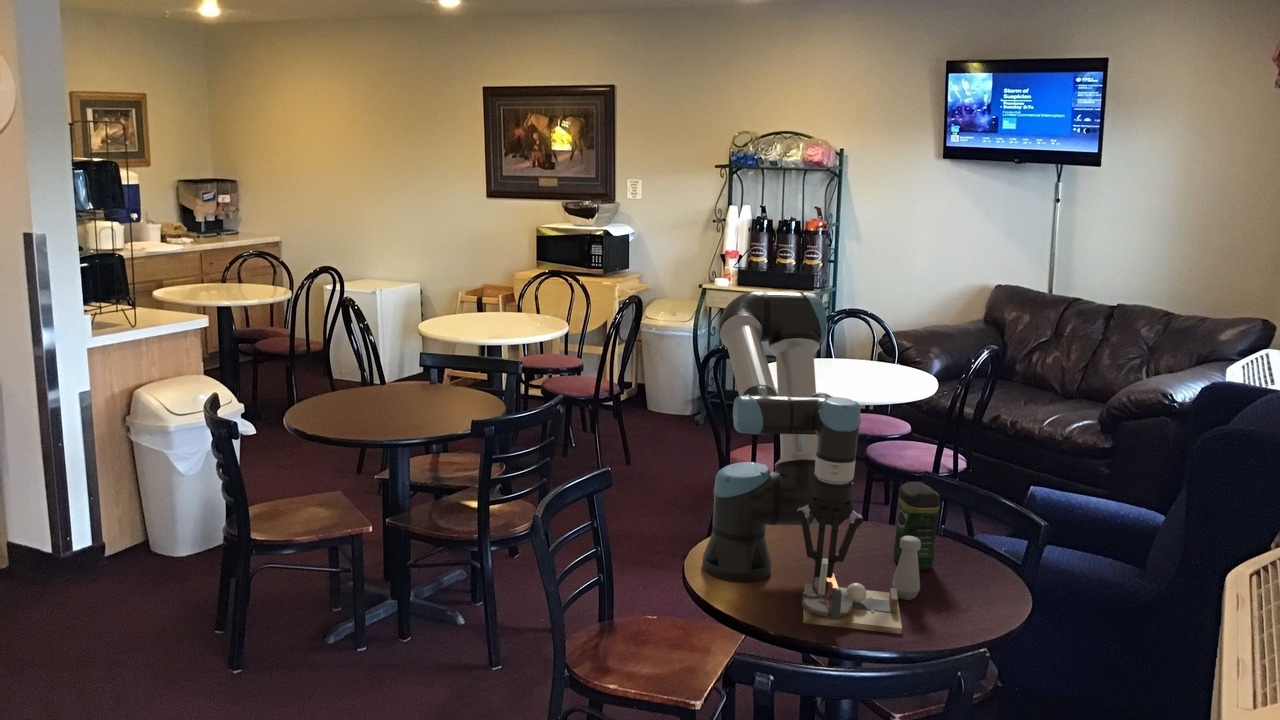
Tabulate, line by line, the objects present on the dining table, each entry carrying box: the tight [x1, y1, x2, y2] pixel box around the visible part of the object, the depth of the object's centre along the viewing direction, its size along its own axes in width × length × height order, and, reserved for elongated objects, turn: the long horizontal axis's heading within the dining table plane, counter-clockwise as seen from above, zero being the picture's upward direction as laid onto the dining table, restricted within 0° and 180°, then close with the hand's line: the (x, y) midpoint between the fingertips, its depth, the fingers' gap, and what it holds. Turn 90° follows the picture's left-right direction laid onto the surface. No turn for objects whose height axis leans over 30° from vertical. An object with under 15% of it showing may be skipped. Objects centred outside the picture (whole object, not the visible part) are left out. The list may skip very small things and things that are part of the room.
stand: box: [802, 583, 903, 635], centre depth 212 cm, size 19×16×4 cm
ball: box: [846, 582, 867, 603], centre depth 213 cm, size 4×4×4 cm
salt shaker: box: [891, 536, 921, 601], centre depth 219 cm, size 6×6×13 cm
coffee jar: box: [892, 481, 941, 572], centre depth 235 cm, size 10×8×19 cm
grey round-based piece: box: [801, 572, 853, 620], centre depth 208 cm, size 10×16×7 cm, turn 178°
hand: (821, 591), depth 207 cm, fingers closed
